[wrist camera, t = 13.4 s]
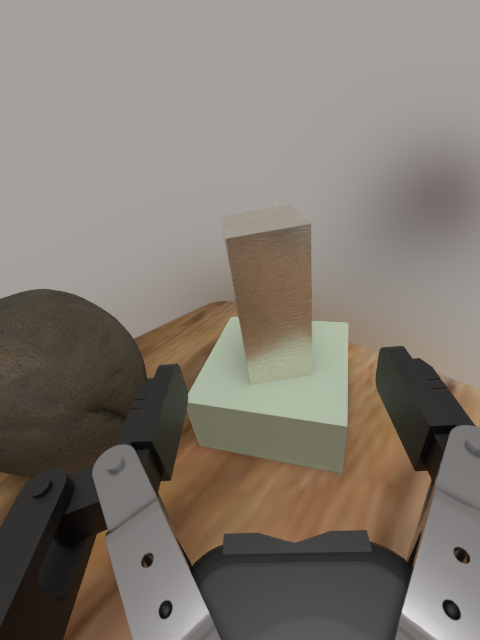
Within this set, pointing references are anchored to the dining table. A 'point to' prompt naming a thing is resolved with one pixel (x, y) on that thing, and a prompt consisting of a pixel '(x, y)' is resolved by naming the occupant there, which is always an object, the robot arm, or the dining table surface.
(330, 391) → the green box
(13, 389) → the brown coconut
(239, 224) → the tea tin
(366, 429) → the dining table surface
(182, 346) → the dining table surface
